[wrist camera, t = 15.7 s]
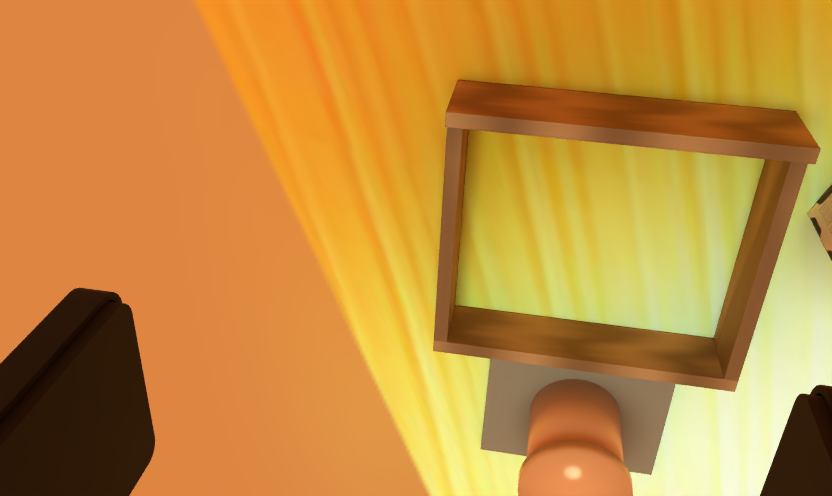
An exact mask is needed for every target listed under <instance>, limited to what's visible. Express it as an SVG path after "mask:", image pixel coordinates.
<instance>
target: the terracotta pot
mask: <svg viewBox="0 0 832 496" xmlns="http://www.w3.org/2000/svg"><path fill="white" fill-rule="evenodd" d="M518 494H519V496H633V491H632V480H631V475H630V473H629V470H628V468H627V467H626V465H625V464H624V463H623V449H622V436H621V422H620V410H619V406H618V404H617V402H616V400H615V398H614V397H613V396H612V395H611V394H610V393H609V392H608V391H607V390H606V389H604V388H603V387H601V386H600V385H598V384H595V383H593V382H590V381H586V380H580V379H565V380H560V381H556V382H553V383H551V384H549V385H547V386H545V387H543V388H542V389H541V390H540V391H539V392H538V393H537V394H536V395H535V397H534V398H533V400H532V402H531V406H530V418H529V433H528V448H527V458H526V459H525V461H524V462H523V464H522V466H521V468H520V472H519V483H518Z"/></svg>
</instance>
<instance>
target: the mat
mask: <svg viewBox="0 0 832 496" xmlns="http://www.w3.org/2000/svg"><path fill="white" fill-rule="evenodd" d="M565 379H580V380H586V381H590V382H593V383H595V384H598V385H600V386H601V387H603V388H604V389H606V390H607V391H608V392H609V393H610V394H611V395H612V396H613V397H614V398H615V400H616V402H617V404H618V406H619V410H620V422H621V436H622V449H623V463H624V464H625V465H626V467H627V468H628V470H629V471H630V472H637V473H643V474H650V475H651V473H652V470H653V466H654V462H655V459H656V455H657V451H658V447H659V444H660V440H661V436H662V432H663V429H664V425H665V421H666V417H667V414H668V410H669V406H670V403H671V399H672V395H673V391H674V388H675V384H674V383H667V382H659V381H652V380H645V379H637V378H630V377H622V376H615V375H608V374H600V373H593V372H586V371H578V370H571V369H563V368H556V367H549V366H541V365H534V364H527V363H519V362H512V361H504V360H497V359H491V361H490V370H489V379H488V388H487V397H486V406H485V415H484V424H483V433H482V442H481V449H483V450H490V451H496V452H503V453H510V454H516V455H523V456H527V448H528V433H529V418H530V406H531V402H532V400H533V398H534V397H535V395H536V394H537V393H538V392H539V391H540V390H541V389H542V388H543V387H545V386H547V385H549V384H551V383H553V382H556V381H560V380H565Z"/></svg>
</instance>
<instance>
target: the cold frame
mask: <svg viewBox="0 0 832 496" xmlns="http://www.w3.org/2000/svg"><path fill="white" fill-rule="evenodd" d="M445 127H447V138H446V154H445V170H444V186H443V202H442V218H441V234H440V250H439V266H438V282H437V298H436V314H435V330H434V346H433V351H438V352H445V353H453V354H460V355H468V356H475V357H482V358H490V359H497V360H504V361H512V362H519V363H527V364H534V365H541V366H549V367H556V368H563V369H571V370H578V371H586V372H593V373H600V374H608V375H615V376H622V377H630V378H637V379H645V380H652V381H659V382H667V383H674V384H681V385H689V386H696V387H704V388H711V389H718V390H726V391H733V392H735V389H736V386H737V383H738V380H739V377H740V374H741V371H742V368H743V364H744V361H745V358H746V355H747V352H748V349H749V346H750V343H751V339H752V336H753V333H754V330H755V327H756V324H757V321H758V318H759V314H760V311H761V308H762V305H763V302H764V299H765V296H766V293H767V289H768V286H769V283H770V280H771V277H772V274H773V271H774V268H775V264H776V261H777V258H778V255H779V252H780V249H781V246H782V243H783V239H784V236H785V233H786V230H787V227H788V224H789V221H790V218H791V214H792V211H793V208H794V205H795V202H796V199H797V196H798V193H799V189H800V186H801V183H802V180H803V177H804V174H805V171H806V168H807V164H808V163H809V164H816V161H817V158H818V155H819V152H820V147H819V146H818V144H817V143H816V141H815V140H814V138H813V137H812V135H811V134H810V132H809V131H808V129H807V128H806V126H805V125H804V123H803V122H802V120H801V119H800V117H799V116H798V114H797V113H796V111H788V110H777V109H766V108H755V107H745V106H734V105H723V104H712V103H702V102H691V101H680V100H669V99H658V98H648V97H637V96H626V95H615V94H605V93H594V92H583V91H572V90H562V89H551V88H540V87H529V86H519V85H508V84H497V83H486V82H475V81H465V80H458V81H457V84H456V87H455V89H454V92H453V95H452V97H451V100H450V103H449V105H448V108H447V111H446V119H445ZM469 129H470V130H480V131H490V132H500V133H510V134H520V135H530V136H540V137H550V138H560V139H570V140H580V141H590V142H600V143H610V144H620V145H630V146H640V147H650V148H660V149H670V150H680V151H690V152H700V153H709V154H719V155H729V156H739V157H749V158H759V159H765V163H764V166H763V170H762V173H761V177H760V180H759V184H758V187H757V190H756V194H755V197H754V201H753V204H752V208H751V211H750V215H749V218H748V222H747V225H746V229H745V232H744V235H743V239H742V242H741V246H740V249H739V253H738V256H737V260H736V263H735V267H734V270H733V273H732V277H731V280H730V284H729V287H728V291H727V294H726V298H725V301H724V305H723V308H722V312H721V315H720V318H719V322H718V325H717V329H716V332H715V336H714V338H706V337H698V336H691V335H683V334H675V333H667V332H659V331H651V330H644V329H636V328H628V327H620V326H612V325H605V324H597V323H589V322H581V321H573V320H566V319H558V318H550V317H542V316H534V315H527V314H519V313H511V312H503V311H495V310H487V309H480V308H472V307H464V306H456V305H455V299H456V286H457V273H458V260H459V247H460V234H461V221H462V208H463V195H464V182H465V169H466V156H467V143H468V130H469Z"/></svg>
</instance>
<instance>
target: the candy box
mask: <svg viewBox="0 0 832 496" xmlns="http://www.w3.org/2000/svg"><path fill="white" fill-rule="evenodd" d="M808 216H809V217H810V219H811V221H812V223H813V225H814V227H815V229H816V231H817V233H818V235H819V237H820V239H821V241H822V243H823V245H824V247H825V249H826V251H827V253H828V254H829V256H830V259H831V260H832V186H831V187H830V188H829V189H828V190H827V191H826V192H825V193H824V195H823V196H822V197H821V198H820V199H819V200H818V202H817V203H816V204H815V205H814V206H813V208H812V209H811V210H810V211H809V212H808Z"/></svg>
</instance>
